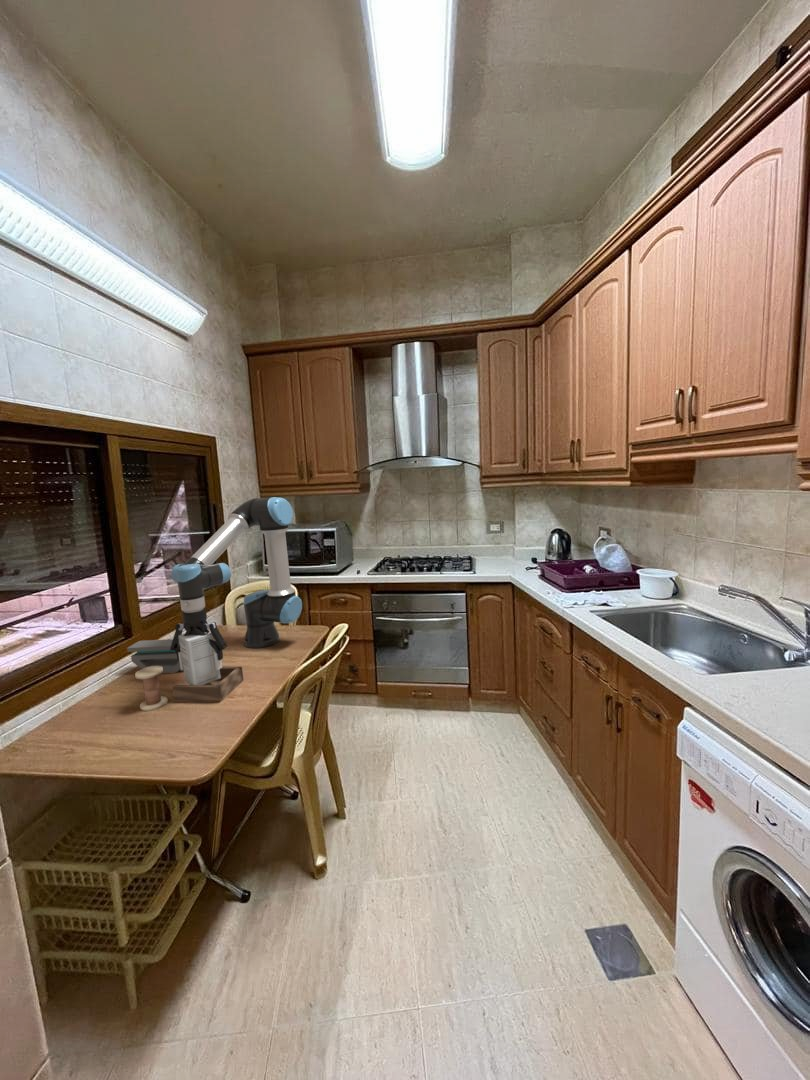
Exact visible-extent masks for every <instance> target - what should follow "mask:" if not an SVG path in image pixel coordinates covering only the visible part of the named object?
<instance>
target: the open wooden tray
mask: <svg viewBox="0 0 810 1080" xmlns="http://www.w3.org/2000/svg"><path fill="white" fill-rule="evenodd" d="M220 675H221V678H220V679H218V680H215V681H212V682H210V683H207V684H204V685H190V684H174V685H173V686H172V688H171V689H172V692H173V693H172V695H173V702H174V703H221V702H222V701H223V700H225V698H227V696H228V695H230V693H232V692H233V691H234V690H235V689H236V688H237V687H238V686H239V685H240V684H242V682H243V681H244V674H243V666H222V668H220Z"/></svg>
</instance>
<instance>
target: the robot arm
mask: <svg viewBox="0 0 810 1080" xmlns="http://www.w3.org/2000/svg"><path fill="white" fill-rule="evenodd" d="M293 518H294V510H293V507H292V505H291V503H290V502H289V501H288V500H287V499H285V498H283V497H276V496H274V497H262V498H261V497H259V498H251V499H249V500H247V501H244V502H243V503H241V504H240V505H239V506H237V507H236V508H235V509H234V510H233V511H232V512H231V513H229V515H228V516H227V520H226V521H225V522H224V524H222V525H221V527H219V528H218V529H217V531H215V532H214V533H213V534H212V536H210V537H209V538H208V540H207V541H206V542H204V543H203V544H202V546H201V547H200V548H198V550H196V552H195V553H193V554H192V556H191V557H189V558H188V559H187V561H185V563H183V562H182V563H179V564H176V565H174V566H173V567H172V568H171V569H172V570H171V573H170V574H171V575H170V576H171V579H172V581H174V582H175V583H177V588H178V594H179V600H180V601H179V602H180V609H181V611H182V613H181V617H182V622H179V623H176V624H175V626H174V627H175V628H174V629H175V631H174V635H173V638H172V639H173V641H172V644H171V647H170V650H174V651H176V653H177V659H178V660H179V662H180V671H184V670H183V663H182V657H181V650H180V643H179V637H178V636H179V635H182V634H184V636H188V635H200V636H205V635H206V634H208V633H209V632H211V634H212V635H213V637H214V639H215V640H216V641H213V640H211V639H209V644H210V645H211V646H212V647H213V648H214V650H215V652H214V658H215V666H216V670H219V669H220V668H222V667H223V662H222V660H223V659H224V656H223V655H224V654H223V650H225V649H226V648H228V644H227V642H226V641H225V639H224V637H223V636H222V634H221V632H220V630H219V629H218V626H217V622H215V621H213V622H210V623H208V621H207V618H208V617H207V616H208V615H207V609H206V608H205V607H206V600H205V590H207V589H209V588H214V587H216V586H220V585H224V584H225V583H228V582H229V581H230V579H231V577H232V572H231V568H230V566H229V565H228V564H226V563H225V562H220V563H215V562H216V561H217V559H219V558H220V556H222V554H224V553H225V551H226V550H227V549H228V548H229V547H230V546H231V545H232V544H233V542H235V541H236V540H237V538H238V537H239V536H240V535H242V533H246V532H247V531H249V529H252V527H256V526H258V527H259V531H260V532H261V533H262V534H263V535H264V541H265V542H264V543H265V552H266V560H267V568H268V579H269V589H263V590H258V591H253V592H250V593H248V594H246V595H245V596H244V597H243V602H244V603H243V607H244V608H243V609H244V616H245V621H246V631H245V636H244V646H245V647H246V648H250V649H261V648H266V647H270V646H273V645H275V644H277V643H278V642H279V641H280V639H281V636H280V633H279V632H278V629H277V626H276V625H275V623H280V624H281V623H282V624H292V623H294V622H296V621H297V620H298V619H299V617H300V615H301V613H302V610H303V601H302V599H301V597H299V596H297V595H296V591H295V589H294V588H293V587H292V584H291V575H290V566H289V565H290V563H289V556H288V547H287V544H288V543H287V537H286V532H287V531H288V530H289V525H290V524H291V523H292V521H293ZM214 563H215V564H214ZM184 630H185V633H183V631H184ZM205 632H207V633H206V634H204V633H205ZM178 644H179V645H178Z"/></svg>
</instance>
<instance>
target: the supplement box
mask: <svg viewBox="0 0 810 1080" xmlns="http://www.w3.org/2000/svg"><path fill="white" fill-rule="evenodd" d="M206 633H207V632H205V633H204V634H206ZM184 634H185V633H182V635H179V636H178V637H179V643H180V650H181V657H182V663H183V670H182V671H183V677H184V681H185V682H186V683H187V685H204V684H207V683H210V682H212V681H215V680H218V679H220V678H221V675H220V669H219V670H216V666H215V658H214V652H215V650H214V648H213V647H212V646H211V645H210V644H209V639H211V640H213V641H216V640H215V639H214V637H213V635H212V634H211V632H209V633H208V634H206V635H205V636H200V635H188V636H184Z"/></svg>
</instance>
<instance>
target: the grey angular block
mask: <svg viewBox="0 0 810 1080" xmlns="http://www.w3.org/2000/svg"><path fill="white" fill-rule="evenodd" d="M172 641H173V638H169V639H149V640H146V639H145V640H139V641H137V642H135V643H132V645H130V646H128V647H127V648H126V652H128V653H131V652H134V654H132V655H131V656H130V660H131V663H132V664H135V666H137V667H138V668H140V670H141V669H143V668H146V667H150V666H162V667H163V672H162V673H161V674H173V673H174V674H176V673H177V672H179V671H181V669H180V662H179V660H178V659H177V653H176V651H174V650H170V647H171V644H172ZM178 645H179V644H178Z"/></svg>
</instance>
